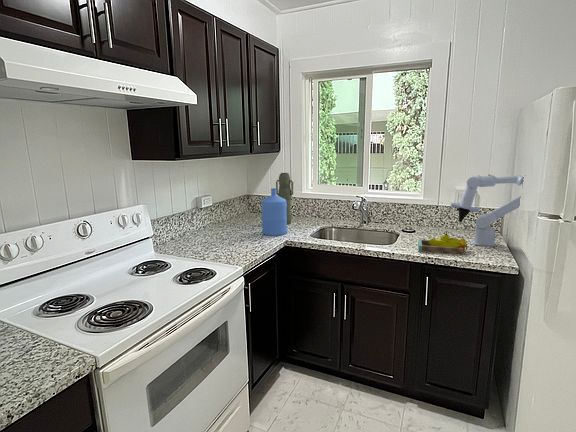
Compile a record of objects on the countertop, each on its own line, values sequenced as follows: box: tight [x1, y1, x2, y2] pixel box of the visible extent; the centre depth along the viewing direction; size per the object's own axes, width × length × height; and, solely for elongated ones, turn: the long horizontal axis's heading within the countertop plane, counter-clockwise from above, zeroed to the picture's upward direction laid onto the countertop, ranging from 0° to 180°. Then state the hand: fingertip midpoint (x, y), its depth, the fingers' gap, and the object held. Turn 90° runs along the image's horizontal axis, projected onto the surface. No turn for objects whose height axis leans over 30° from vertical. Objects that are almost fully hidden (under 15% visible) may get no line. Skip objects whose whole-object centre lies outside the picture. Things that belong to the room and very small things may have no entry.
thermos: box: [275, 172, 294, 226], centre depth 242 cm, size 9×12×35 cm
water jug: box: [260, 188, 288, 237], centre depth 218 cm, size 16×16×28 cm
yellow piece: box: [428, 230, 469, 252], centre depth 181 cm, size 6×18×10 cm, turn 69°
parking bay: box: [417, 239, 464, 256], centre depth 182 cm, size 20×12×3 cm, turn 71°
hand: (459, 221), depth 195 cm, fingers closed
